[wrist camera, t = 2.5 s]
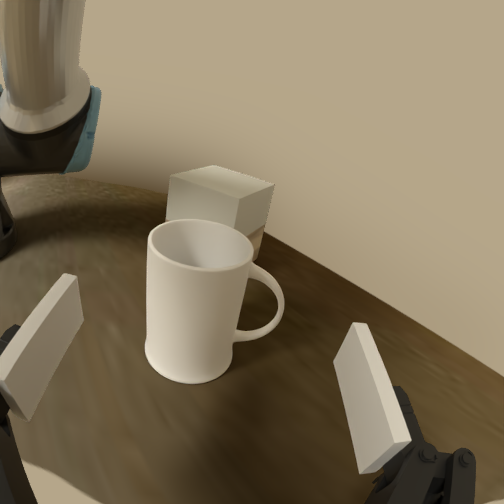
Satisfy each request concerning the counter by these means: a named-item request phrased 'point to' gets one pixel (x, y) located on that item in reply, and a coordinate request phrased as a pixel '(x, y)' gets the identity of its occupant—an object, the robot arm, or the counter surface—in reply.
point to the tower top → (220, 198)
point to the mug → (199, 298)
